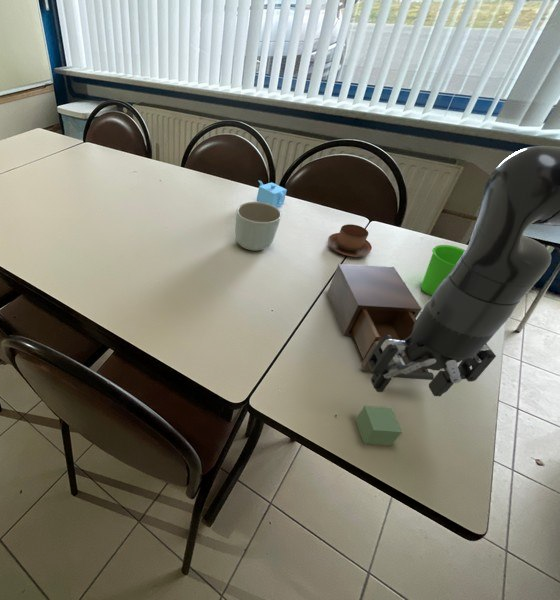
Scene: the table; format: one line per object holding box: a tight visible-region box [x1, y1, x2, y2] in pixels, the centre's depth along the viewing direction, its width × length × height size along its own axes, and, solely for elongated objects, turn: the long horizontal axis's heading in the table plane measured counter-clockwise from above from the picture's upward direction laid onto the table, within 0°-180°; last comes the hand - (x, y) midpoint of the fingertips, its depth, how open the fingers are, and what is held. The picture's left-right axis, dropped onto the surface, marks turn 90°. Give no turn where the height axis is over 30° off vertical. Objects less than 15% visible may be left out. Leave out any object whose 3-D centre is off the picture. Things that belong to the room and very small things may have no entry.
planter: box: [234, 201, 282, 252], centre depth 107 cm, size 12×12×11 cm
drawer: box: [351, 309, 435, 381], centre depth 75 cm, size 18×12×7 cm, turn 175°
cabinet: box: [326, 263, 422, 337], centre depth 84 cm, size 15×13×9 cm
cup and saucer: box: [327, 223, 373, 258], centre depth 107 cm, size 12×12×6 cm
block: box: [355, 405, 403, 447], centre depth 63 cm, size 5×5×5 cm
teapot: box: [255, 180, 288, 208], centre depth 128 cm, size 12×6×8 cm, turn 33°
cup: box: [420, 244, 466, 297], centre depth 91 cm, size 9×9×11 cm
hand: (405, 389), depth 56 cm, fingers open, 8 cm apart
